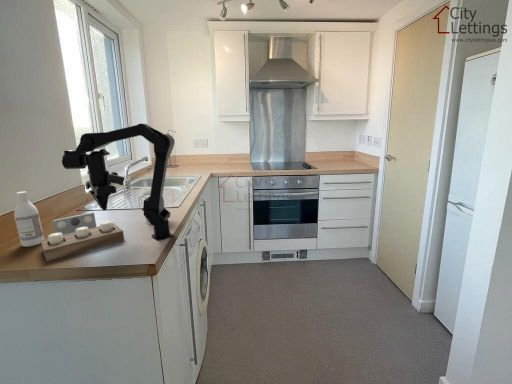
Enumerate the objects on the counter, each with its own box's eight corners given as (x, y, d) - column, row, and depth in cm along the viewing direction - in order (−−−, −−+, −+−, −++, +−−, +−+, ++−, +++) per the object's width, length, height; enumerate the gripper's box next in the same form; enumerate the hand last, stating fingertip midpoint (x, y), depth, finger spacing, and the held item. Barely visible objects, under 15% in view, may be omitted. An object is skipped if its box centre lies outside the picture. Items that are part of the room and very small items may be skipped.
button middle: (91, 238, 101) (89, 228, 100) (78, 242, 98) (76, 231, 97) (88, 235, 104) (86, 225, 103) (76, 238, 101) (74, 228, 100)
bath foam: (46, 242, 105) (35, 191, 101) (23, 248, 100) (10, 195, 96) (42, 238, 110) (31, 189, 105) (20, 243, 105) (7, 192, 100)
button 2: (114, 232, 106) (113, 223, 105) (103, 235, 104) (101, 225, 103) (111, 230, 109) (110, 220, 108) (100, 233, 106) (98, 223, 106)
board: (124, 240, 105) (122, 230, 104) (46, 261, 90) (44, 250, 89) (115, 232, 114) (113, 223, 113) (42, 250, 98) (40, 239, 97)
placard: (97, 231, 116) (94, 212, 114) (56, 240, 107) (52, 221, 105) (96, 230, 117) (93, 212, 115) (56, 239, 108) (52, 220, 106)
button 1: (65, 245, 96) (62, 234, 95) (51, 249, 93) (48, 237, 92) (63, 242, 99) (61, 231, 98) (49, 245, 96) (47, 234, 95)
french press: (159, 225, 120) (152, 168, 115) (135, 224, 123) (128, 168, 117) (170, 218, 130) (165, 165, 124) (148, 217, 132) (141, 165, 126)
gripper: (128, 167, 99) (134, 209, 102) (113, 163, 113) (118, 200, 116) (93, 171, 92) (101, 216, 95) (81, 167, 105) (88, 206, 109)
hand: (103, 209), depth 104 cm, fingers open, 3 cm apart
